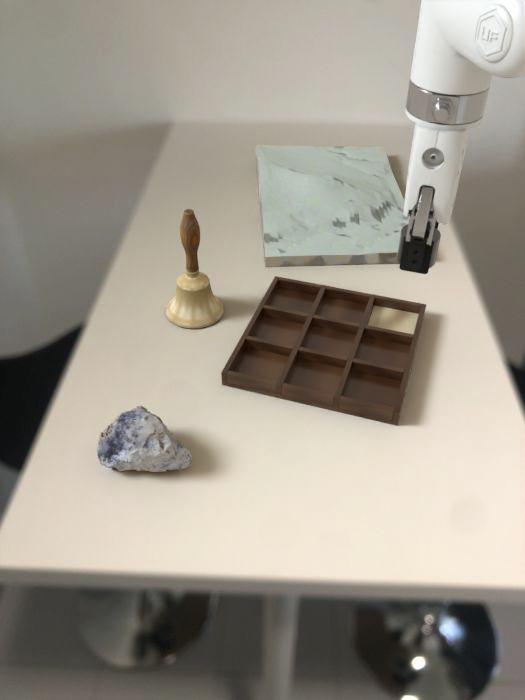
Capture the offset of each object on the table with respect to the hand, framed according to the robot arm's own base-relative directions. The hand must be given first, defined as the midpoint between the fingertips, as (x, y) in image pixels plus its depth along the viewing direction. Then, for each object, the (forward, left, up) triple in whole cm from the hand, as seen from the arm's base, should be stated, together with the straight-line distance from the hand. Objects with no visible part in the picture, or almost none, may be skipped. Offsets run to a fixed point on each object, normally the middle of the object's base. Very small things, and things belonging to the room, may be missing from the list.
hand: (416, 257), depth 78 cm
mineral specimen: (+24, +26, -16) cm, 39 cm away
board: (+9, +1, -16) cm, 18 cm away
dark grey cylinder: (0, 0, 0) cm, 0 cm away
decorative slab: (+19, -37, -16) cm, 45 cm away
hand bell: (+29, -1, -16) cm, 33 cm away
